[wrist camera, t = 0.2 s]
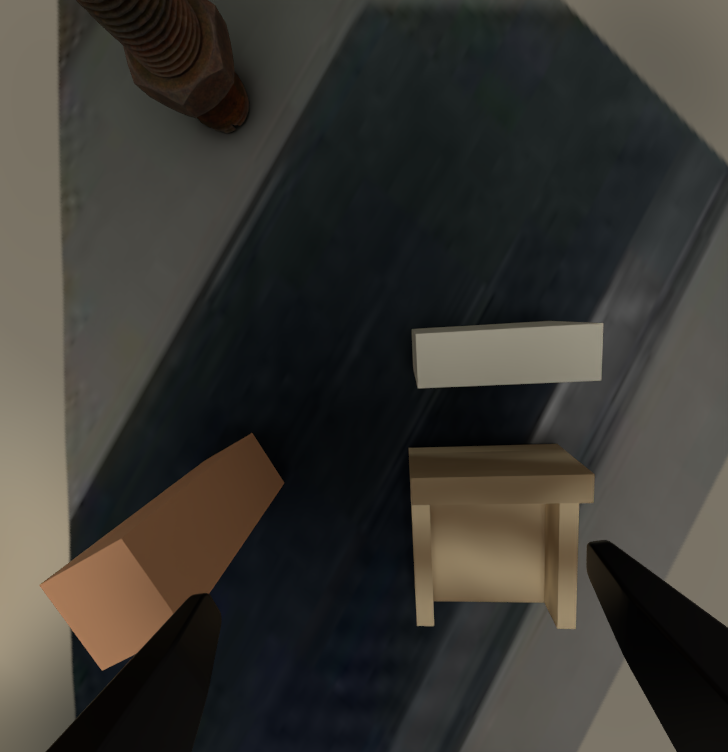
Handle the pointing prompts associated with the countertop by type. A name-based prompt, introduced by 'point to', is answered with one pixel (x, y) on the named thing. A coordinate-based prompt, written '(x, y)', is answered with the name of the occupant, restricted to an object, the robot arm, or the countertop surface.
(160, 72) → the bolt
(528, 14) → the countertop surface
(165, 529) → the orange rectangular block
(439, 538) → the cradle
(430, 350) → the stop block
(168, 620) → the robot arm
